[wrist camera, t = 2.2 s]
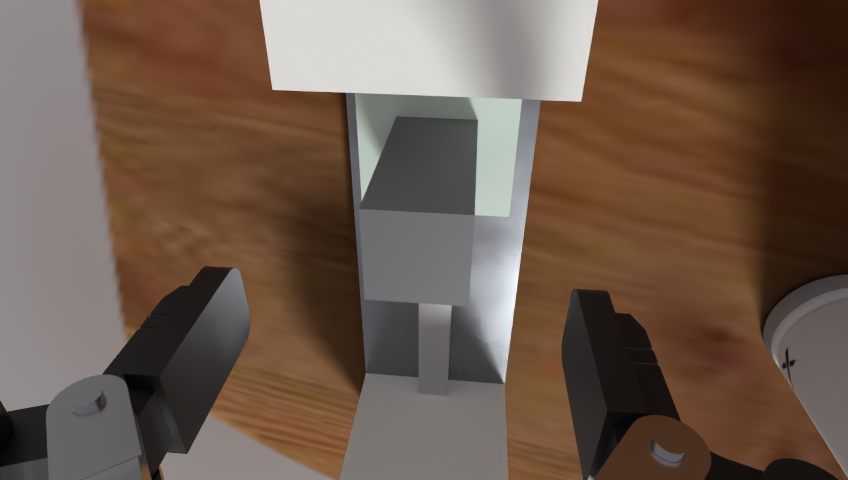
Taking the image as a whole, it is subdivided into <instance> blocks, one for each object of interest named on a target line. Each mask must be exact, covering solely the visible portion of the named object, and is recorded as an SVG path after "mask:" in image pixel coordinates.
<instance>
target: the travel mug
mask: <svg viewBox="0 0 848 480" xmlns="http://www.w3.org/2000/svg"><path fill="white" fill-rule="evenodd" d="M763 339H764V343H765V346H766V347H767V349H768V351H769V353H770V354H771V356H772V357H773V359H774V361H775V362H776V364H777V365H778V367H779V368H780V370H781V372H782V373H783V375H784V377H785V378H786V380H787V381H788V383H789V385H790V386H791V388H792V389H793V391H794V393H795V394H796V396H797V397H798V399H799V401H800V402H801V404H802V405H803V407H804V409H805V410H806V412H807V413H808V415H809V417H810V418H811V420H812V421H813V423H814V425H815V426H816V428H817V429H818V431H819V433H820V434H821V436H822V437H823V439H824V441H825V442H826V444H827V445H828V447H829V449H830V450H831V452H832V453H833V455H834V457H835V458H836V460H837V461H838V463H839V465H840V466H841V468H842V469H843V471H844V473H845V474H846V476H847V477H848V275H837V276H830V277H826V278H822V279H819V280H815V281H813V282H810V283H808V284H806V285H803V286H801V287H800V288H798V289H796V290H794V291H793V292H791V293H790V294H788V295H787V296H786V297H784V298H783V299H782V300H781V301H780V302H779V303H778V304H777V305H776V306H775V307H774V308H773V310H772V311H771V313H770V314H769V316H768V317H767V320H766V323H765V326H764V331H763Z"/></svg>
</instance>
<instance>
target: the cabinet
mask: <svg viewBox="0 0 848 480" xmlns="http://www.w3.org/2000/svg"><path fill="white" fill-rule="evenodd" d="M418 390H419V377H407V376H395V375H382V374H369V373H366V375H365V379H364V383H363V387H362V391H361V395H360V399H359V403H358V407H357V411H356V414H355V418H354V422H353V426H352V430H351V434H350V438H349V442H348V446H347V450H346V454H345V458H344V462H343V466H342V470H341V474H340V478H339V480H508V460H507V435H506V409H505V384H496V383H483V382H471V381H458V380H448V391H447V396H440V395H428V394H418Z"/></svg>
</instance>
